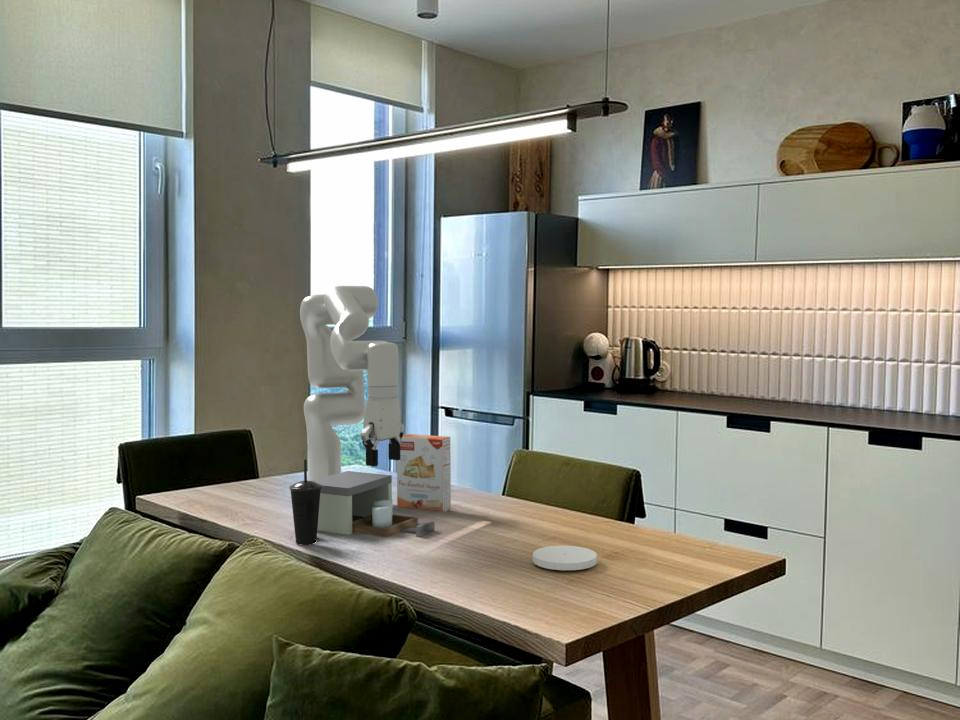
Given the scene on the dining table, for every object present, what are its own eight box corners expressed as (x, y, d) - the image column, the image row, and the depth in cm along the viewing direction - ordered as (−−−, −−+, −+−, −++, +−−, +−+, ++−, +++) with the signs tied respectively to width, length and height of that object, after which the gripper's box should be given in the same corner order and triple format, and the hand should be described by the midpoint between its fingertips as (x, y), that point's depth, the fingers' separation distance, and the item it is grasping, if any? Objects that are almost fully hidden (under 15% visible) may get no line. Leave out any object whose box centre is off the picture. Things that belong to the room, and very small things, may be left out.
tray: (378, 522, 234) (378, 510, 234) (441, 530, 225) (441, 518, 225) (346, 534, 221) (346, 521, 221) (411, 543, 212) (411, 530, 212)
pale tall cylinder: (380, 521, 232) (380, 498, 231) (396, 523, 229) (396, 499, 229) (369, 525, 227) (369, 501, 227) (385, 527, 225) (385, 503, 225)
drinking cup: (328, 539, 217) (327, 457, 216) (312, 547, 210) (311, 463, 209) (300, 537, 220) (299, 456, 219) (283, 545, 213) (282, 461, 212)
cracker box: (396, 510, 249) (395, 435, 248) (406, 506, 254) (405, 433, 253) (442, 515, 243) (442, 438, 242) (451, 510, 249) (451, 435, 248)
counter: (348, 517, 241) (347, 470, 241) (428, 527, 230) (427, 479, 229) (302, 532, 224) (302, 483, 224) (386, 544, 213) (386, 492, 212)
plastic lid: (548, 553, 206) (548, 542, 206) (606, 561, 199) (606, 550, 199) (522, 569, 194) (522, 558, 193) (582, 578, 187) (582, 566, 187)
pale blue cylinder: (379, 528, 224) (378, 504, 224) (395, 530, 222) (395, 505, 222) (368, 532, 220) (368, 508, 219) (385, 534, 218) (385, 509, 217)
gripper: (389, 389, 228) (390, 456, 229) (349, 395, 213) (349, 467, 214) (414, 390, 225) (415, 458, 226) (375, 396, 209) (375, 469, 210)
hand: (383, 462), depth 220 cm, fingers open, 9 cm apart
